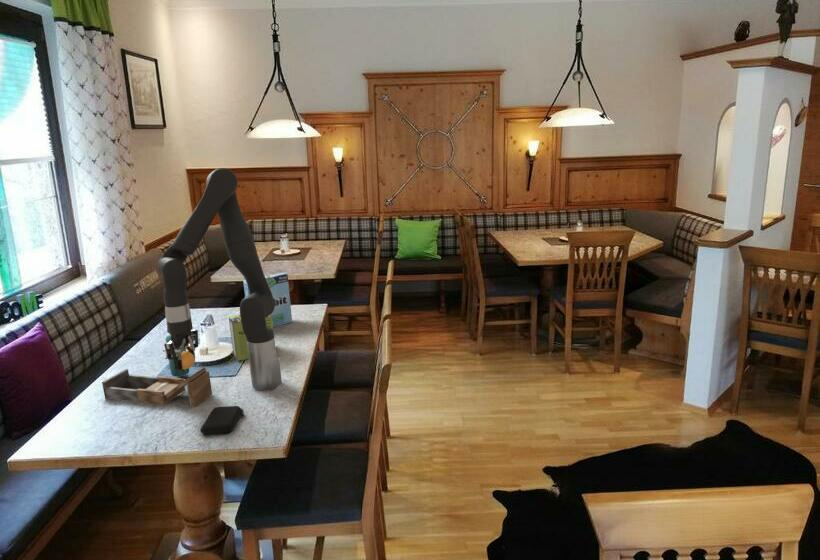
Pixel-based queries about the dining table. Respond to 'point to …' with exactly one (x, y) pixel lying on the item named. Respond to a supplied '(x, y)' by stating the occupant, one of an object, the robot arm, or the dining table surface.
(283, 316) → the gum box
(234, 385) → the dining table surface
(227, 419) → the carrying case or bag
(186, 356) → the ball
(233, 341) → the protein box
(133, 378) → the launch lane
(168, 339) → the beverage bottle
